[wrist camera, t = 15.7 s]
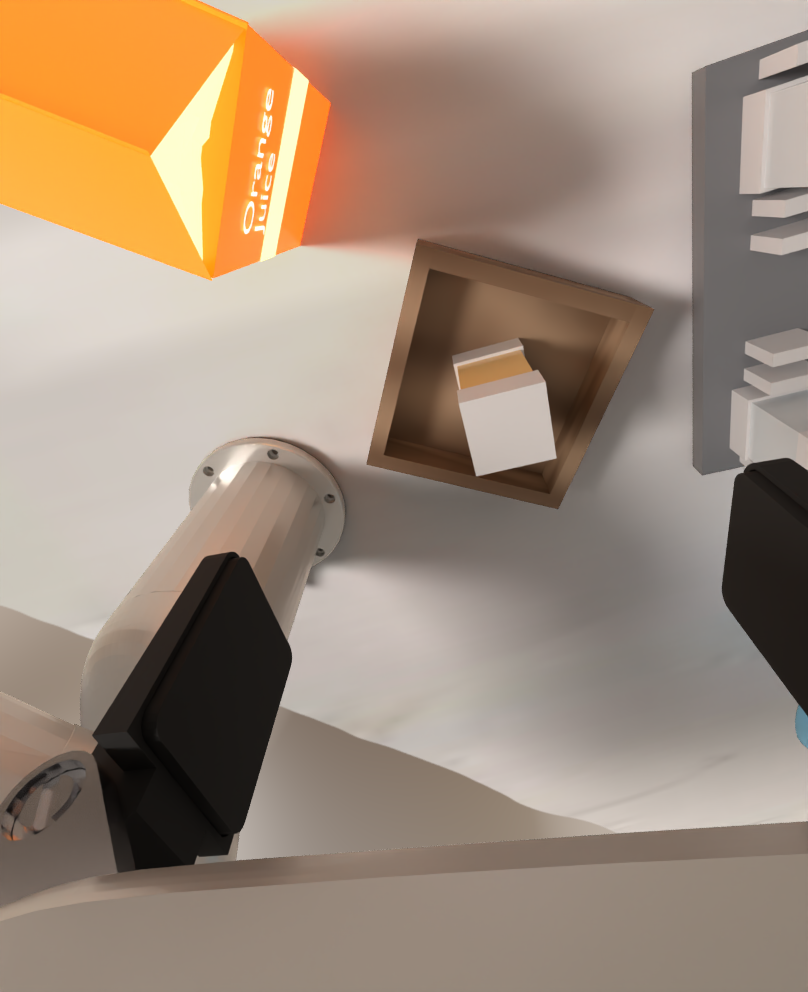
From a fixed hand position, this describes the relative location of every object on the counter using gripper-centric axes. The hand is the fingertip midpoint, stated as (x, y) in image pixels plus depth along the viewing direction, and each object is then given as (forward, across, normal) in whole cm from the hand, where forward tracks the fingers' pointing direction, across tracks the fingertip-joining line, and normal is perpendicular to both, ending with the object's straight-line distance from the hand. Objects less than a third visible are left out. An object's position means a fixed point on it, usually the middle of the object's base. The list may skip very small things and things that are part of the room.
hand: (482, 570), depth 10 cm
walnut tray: (+27, -2, +5) cm, 27 cm away
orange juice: (+27, +10, -11) cm, 31 cm away
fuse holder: (+27, -20, +3) cm, 33 cm away
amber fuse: (+26, -2, +5) cm, 26 cm away
